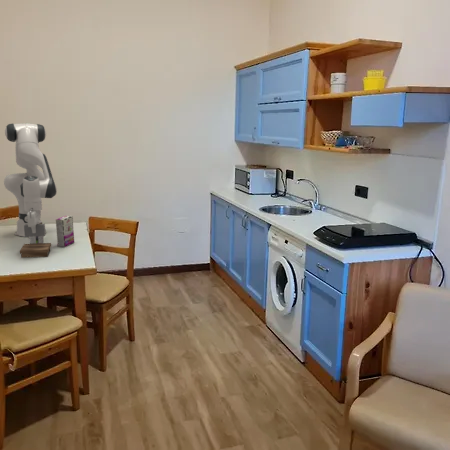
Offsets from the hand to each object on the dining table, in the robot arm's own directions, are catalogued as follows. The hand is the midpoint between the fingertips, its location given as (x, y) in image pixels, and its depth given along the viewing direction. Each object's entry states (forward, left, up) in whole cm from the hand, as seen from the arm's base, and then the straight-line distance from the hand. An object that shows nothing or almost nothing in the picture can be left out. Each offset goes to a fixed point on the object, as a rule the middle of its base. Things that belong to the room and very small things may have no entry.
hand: (35, 231), depth 257 cm
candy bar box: (-17, +14, -13) cm, 26 cm away
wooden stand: (0, 0, -13) cm, 13 cm away
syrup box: (-16, -2, -13) cm, 21 cm away
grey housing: (0, 0, -2) cm, 2 cm away
